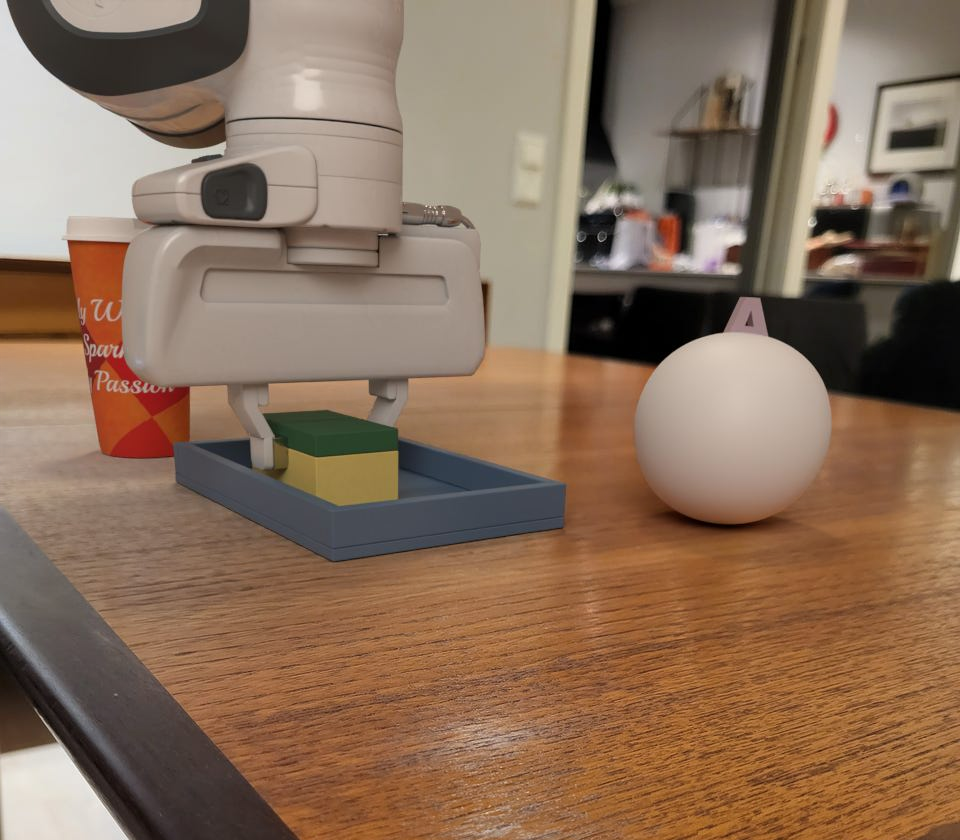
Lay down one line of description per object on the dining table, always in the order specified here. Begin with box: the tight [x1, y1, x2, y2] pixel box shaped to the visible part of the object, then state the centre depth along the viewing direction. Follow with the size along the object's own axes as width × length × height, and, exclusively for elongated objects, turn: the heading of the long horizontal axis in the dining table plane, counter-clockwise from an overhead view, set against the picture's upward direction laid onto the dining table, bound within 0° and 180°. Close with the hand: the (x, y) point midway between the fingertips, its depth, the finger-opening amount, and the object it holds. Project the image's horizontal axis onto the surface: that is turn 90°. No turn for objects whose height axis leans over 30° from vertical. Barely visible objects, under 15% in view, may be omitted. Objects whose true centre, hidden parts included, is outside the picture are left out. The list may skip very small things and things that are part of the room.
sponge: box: [252, 409, 399, 506], centre depth 56 cm, size 8×5×4 cm, turn 36°
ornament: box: [633, 296, 833, 525], centre depth 55 cm, size 10×10×12 cm
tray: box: [173, 435, 567, 562], centre depth 57 cm, size 20×14×2 cm
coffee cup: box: [61, 215, 191, 459], centre depth 68 cm, size 8×8×15 cm
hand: (322, 464), depth 56 cm, fingers closed on sponge, 5 cm apart
